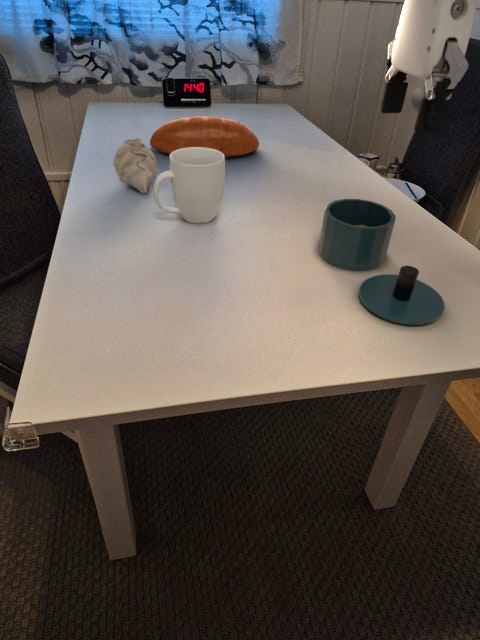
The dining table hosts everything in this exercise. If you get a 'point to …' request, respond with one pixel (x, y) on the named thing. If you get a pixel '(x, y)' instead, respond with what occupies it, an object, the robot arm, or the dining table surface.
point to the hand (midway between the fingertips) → (407, 121)
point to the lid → (402, 298)
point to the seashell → (135, 164)
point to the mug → (194, 183)
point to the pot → (356, 234)
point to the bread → (205, 135)
